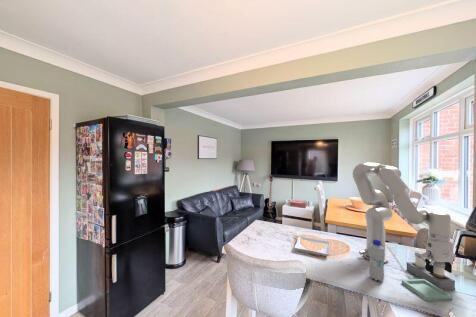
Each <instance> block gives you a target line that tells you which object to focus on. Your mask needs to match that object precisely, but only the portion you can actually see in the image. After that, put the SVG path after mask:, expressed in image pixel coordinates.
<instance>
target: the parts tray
mask: <svg viewBox="0 0 476 317" xmlns="http://www.w3.org/2000/svg"><path fill="white" fill-rule="evenodd" d="M401 284H402V285H404V286H405V287H406V288H408V289H409V290H410V289H411V291H412V292H413V291H414V293H415V294H416V295H418V296H419V297H420V298H422V299H423V300H424V301H427V302H434V301H435V302H437V301H453V295H452V294H450V293H448V292H446V291H445V290H444V289H440V288H438V287H437V286H435V285H433V284H432V283H430V282H428V281H427V280H425V279H421V278H419V279H418V278H414V279H413V278H412V279H410V278H409V279H401Z"/></svg>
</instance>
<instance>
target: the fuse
mask: <svg viewBox="0 0 476 317" xmlns="http://www.w3.org/2000/svg"><path fill="white" fill-rule="evenodd" d="M423 253H424V252H422V251H419V250H418V251H417V250H415V251H414V258H415V259H414V262H415V266H416V267H418V268H420V269H425V265H426V262H425V261H424V260H423V258H422V256H421V255H422V254H423Z"/></svg>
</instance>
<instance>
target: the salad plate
mask: <svg viewBox="0 0 476 317" xmlns="http://www.w3.org/2000/svg"><path fill="white" fill-rule="evenodd" d="M300 239H303V240H307V241H310V242H315V243H318V244H324V245H326V247H325V249H323V248H322V249H321V250H318V251H317V252H316V251H311V250H308V249H306V248H304V247H303V246H302V245H301V244H300ZM330 245H331V242H329V241H326V240H321V239H316V238H310V237H304V236H298V238H297V241H296V243H295V245H294V249H295V250H296V251H298V252H303V253H306V254H311V255H315V254H317V256H320V255H322V256H321V257H328V256H330Z"/></svg>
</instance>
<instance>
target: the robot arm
mask: <svg viewBox="0 0 476 317" xmlns="http://www.w3.org/2000/svg"><path fill="white" fill-rule="evenodd" d="M368 176H369V177H370V176H374V177H378V178H379V179H380V180H381V182H382V183H383V184H384V186H385V187H386V189H387V190H388V191H389V192H390V194H391V195H392V198H393V201H394V204H395V206H396V208H397V210H398V211H399V213H400V214H401V215H402V216H403V218H404V219H405V220H406V221H408V222H409V223H411V224H413V225H421V224H424V223H428V229H427V230H428V235H427V237H428V238H427V240H426V246H425V252H423V254H422V255H421V256H422V258H423V260H424V261H425V265H426V270H427V271H428V272H430V273H434V265H433V263H434V262H444V263H445V268H444V271H446V272H448V273H449V274H451V273H453V269H452V268H453V267H452V266H453V264H454V261H455V259H456V257H457V255H456V254H455V253H454V247H453V243H452V241H451V221H452V220H451V215H450V214H449V213H447V212H443V211H439V210H433V209H428V208H424V207H416V206H415V204H414V203H413V201H412V200H411V198H410V189H409V188H410V187H409V186H408V185H407V184H406V183H405V182H404V180H403V179H402V178H401V176H402V171H401V170H400V169H399V168H398V167H396V166H392V165H386V164H381V163H377V162H361V163H359V164H357V165H355V167H354V168H353V170H352V178H353V180H354V182H355V184H356V187H357V190H358V193H359V196H360V199H361V201H362V202H363V204H365V205H366V206H372V207H369V208H368V209H367V210H366V211H365V221H366V222H365V223H366V248H364V250H359V251H358V253H359V255H363V257H364V258H365V259H367V260H369V261H370V254H369V248H370V245H371V244H373V240H379V241H380V242H381V246H382V247H383V248H384V252H385V253H386V227H385V226H386V225H385V222H387V221H390V220H391V219H392V218H393V212H392V209H391V207H390V204H389V201H388V199H387V197H386V196H385V193H384V192H382V191H381V190H379V189H375V188H374V187H373V184H372V181H371V180H370V179H369V178H368ZM386 263H389V258H388V257H387V256H386V255H385V258H384V264H386Z"/></svg>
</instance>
